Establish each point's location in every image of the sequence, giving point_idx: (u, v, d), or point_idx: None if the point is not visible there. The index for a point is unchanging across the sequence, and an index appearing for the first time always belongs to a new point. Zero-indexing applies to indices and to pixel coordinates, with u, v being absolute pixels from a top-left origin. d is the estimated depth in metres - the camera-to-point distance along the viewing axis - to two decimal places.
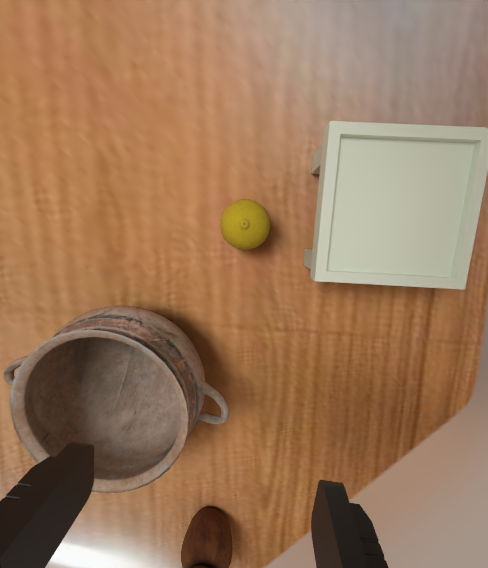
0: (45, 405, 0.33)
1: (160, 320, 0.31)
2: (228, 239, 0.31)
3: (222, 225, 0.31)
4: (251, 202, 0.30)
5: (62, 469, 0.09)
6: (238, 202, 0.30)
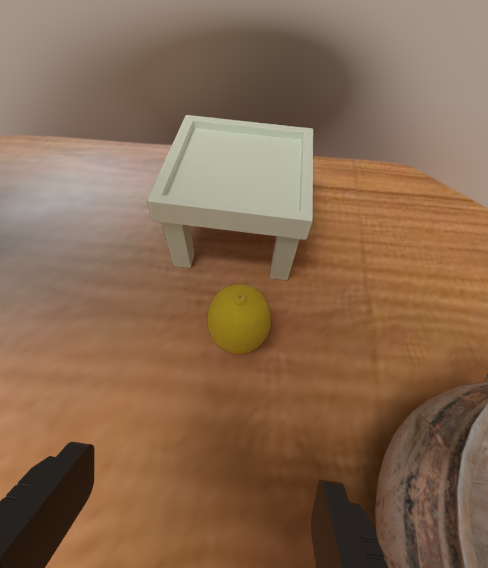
0: None
1: (395, 448, 0.18)
2: (257, 330, 0.23)
3: (238, 336, 0.22)
4: (213, 299, 0.24)
5: (62, 469, 0.09)
6: (211, 313, 0.23)
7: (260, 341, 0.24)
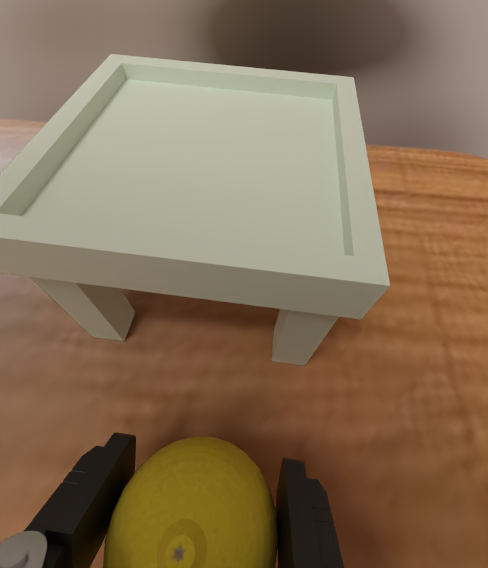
0: None
1: None
2: None
3: None
4: (119, 500, 0.09)
5: (112, 457, 0.09)
6: (104, 561, 0.08)
7: None
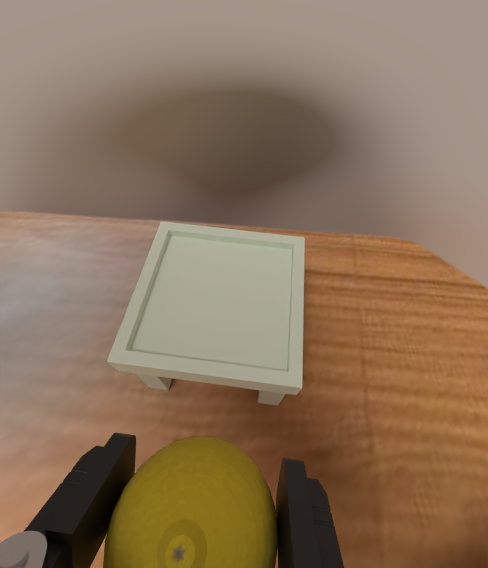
0: None
1: None
2: None
3: None
4: (120, 501, 0.09)
5: (112, 457, 0.09)
6: (104, 562, 0.08)
7: None
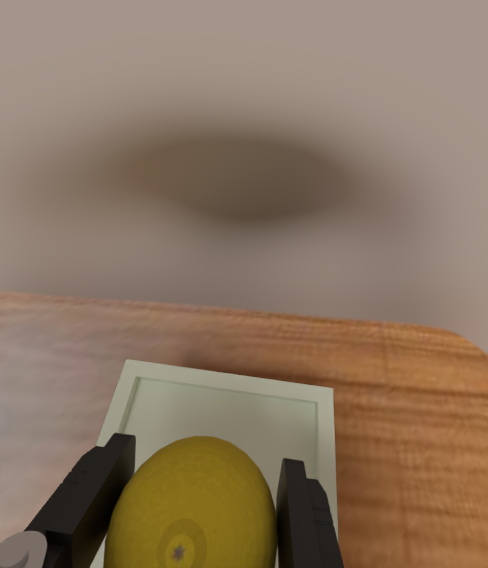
0: None
1: None
2: None
3: None
4: (119, 500, 0.09)
5: (112, 457, 0.09)
6: (104, 561, 0.08)
7: None
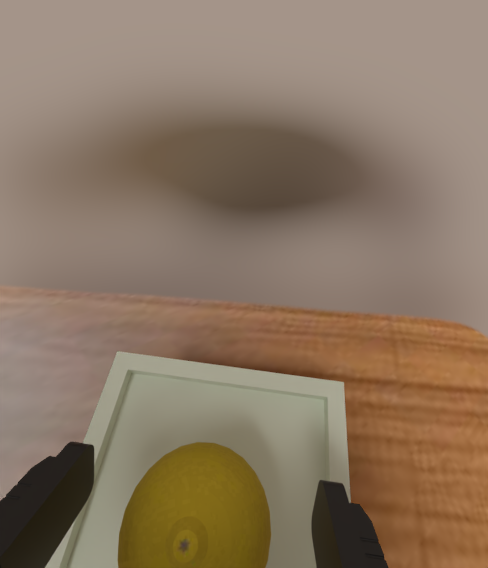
0: None
1: None
2: None
3: None
4: (131, 500, 0.10)
5: (62, 469, 0.09)
6: (118, 553, 0.09)
7: None
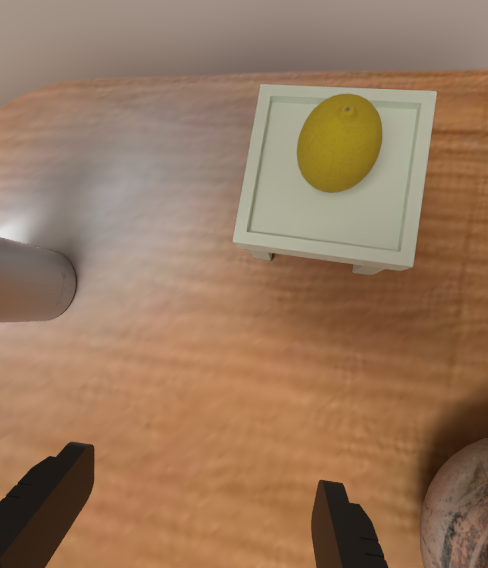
0: None
1: (451, 481, 0.22)
2: (365, 157, 0.18)
3: (339, 167, 0.18)
4: (307, 119, 0.19)
5: (62, 469, 0.09)
6: (304, 139, 0.19)
7: (364, 174, 0.19)
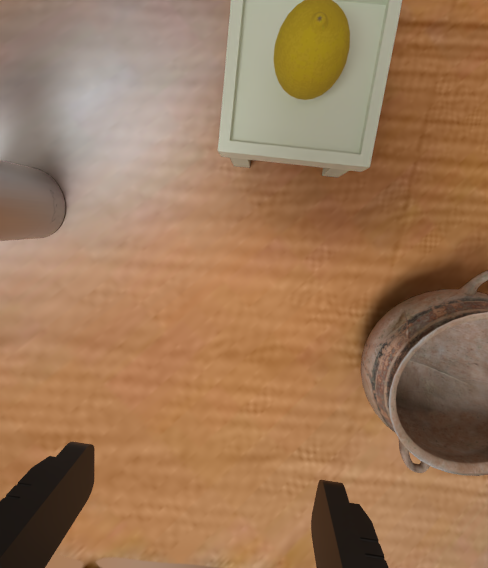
0: (454, 444, 0.34)
1: (383, 325, 0.32)
2: (334, 66, 0.20)
3: (311, 76, 0.21)
4: (283, 25, 0.20)
5: (62, 469, 0.09)
6: (281, 47, 0.20)
7: (333, 82, 0.22)
